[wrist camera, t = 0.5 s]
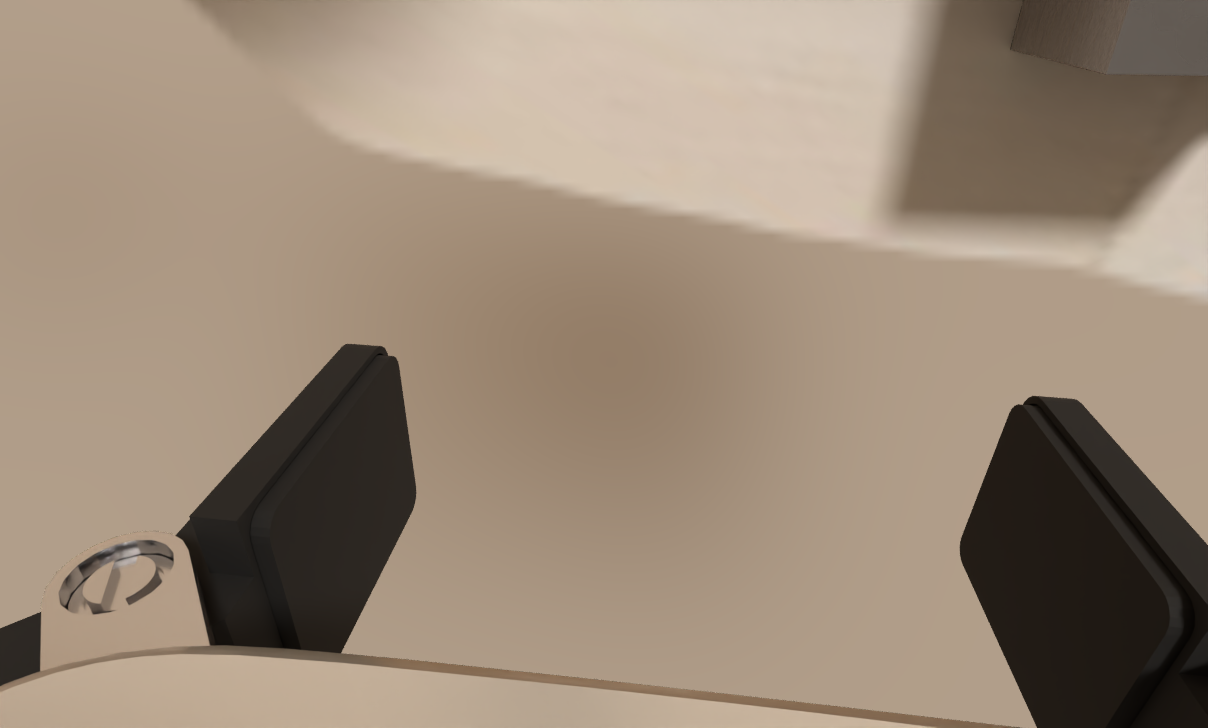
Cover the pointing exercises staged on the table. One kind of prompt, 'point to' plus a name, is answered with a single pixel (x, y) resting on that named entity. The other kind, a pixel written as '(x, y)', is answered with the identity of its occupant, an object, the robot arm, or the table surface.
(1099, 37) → the panel
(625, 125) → the table surface
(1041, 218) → the table surface
